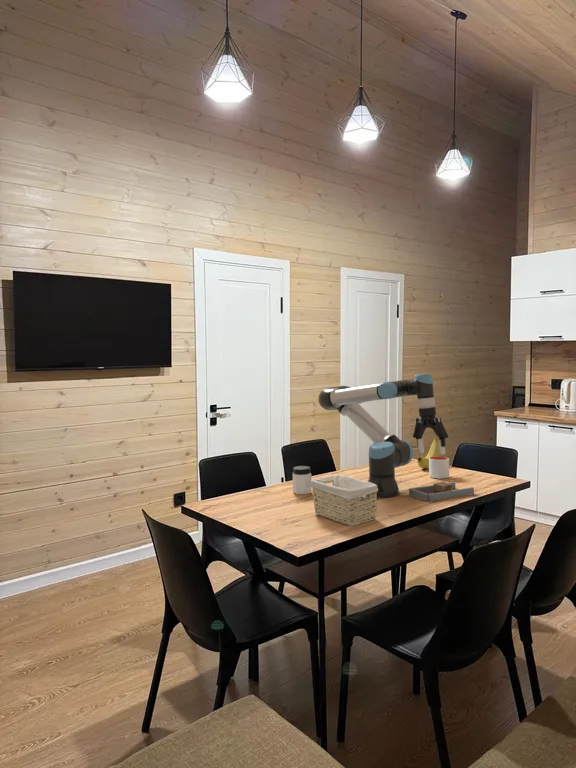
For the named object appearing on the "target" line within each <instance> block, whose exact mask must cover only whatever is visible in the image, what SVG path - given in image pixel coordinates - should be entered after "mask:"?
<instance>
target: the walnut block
mask: <svg viewBox="0 0 576 768" xmlns="http://www.w3.org/2000/svg"><path fill="white" fill-rule="evenodd" d="M433 485H434V492H433V493H439V492H445V491H451V490H454V489H453V484H449V482H446V481H442V482H434V483H433Z"/></svg>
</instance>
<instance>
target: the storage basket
mask: <svg viewBox="0 0 576 768" xmlns="http://www.w3.org/2000/svg"><path fill="white" fill-rule="evenodd" d="M330 483H332V484H331V485H330ZM311 487H312V494H313V495H312V496H313V505H314V512H315V514H316V515H317V516H321V517H323V518H326V519H330V520H333V521H334V522H336V523H341V524H343V525H346V526H349V527H355V526H357V525H360V524H365V523H368V522H372V521H374V520H375V519H376V515H377V513H376V512H377V511H376V510H377V498H378V497H377V491H378V488H377V485H376V484H373V483H370V482H368V481H367V480H363V479H359V478H355V477H351V476H349V475H342V474H335V475H328V476H324V477H319V478H315V479H311Z"/></svg>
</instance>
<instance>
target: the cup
mask: <svg viewBox="0 0 576 768" xmlns="http://www.w3.org/2000/svg"><path fill="white" fill-rule="evenodd" d="M428 471H429V472H428V475H429V477H430V478H432V479H435V478H436V479H438V480H445V479H447V478H449V476H450V458H449V457H446V456H442V455H441V456H440V455H439V456H435V457H430V458H429V468H428ZM444 478H445V479H444Z"/></svg>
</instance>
